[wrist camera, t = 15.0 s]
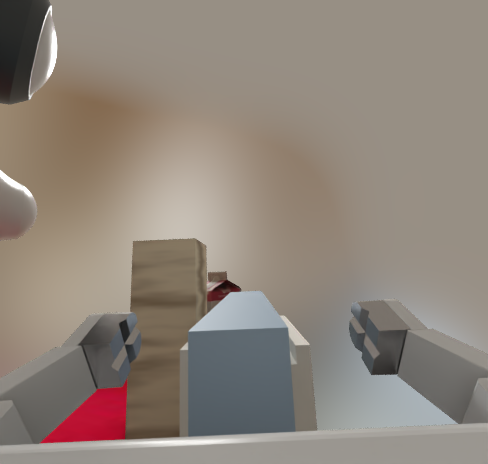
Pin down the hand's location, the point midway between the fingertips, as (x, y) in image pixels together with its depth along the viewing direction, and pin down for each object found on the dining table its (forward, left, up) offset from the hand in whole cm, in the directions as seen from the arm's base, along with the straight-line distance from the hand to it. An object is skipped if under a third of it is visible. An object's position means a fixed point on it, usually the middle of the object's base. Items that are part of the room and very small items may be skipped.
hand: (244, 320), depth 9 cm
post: (-21, +16, -19) cm, 33 cm away
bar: (-6, +10, -4) cm, 12 cm away
